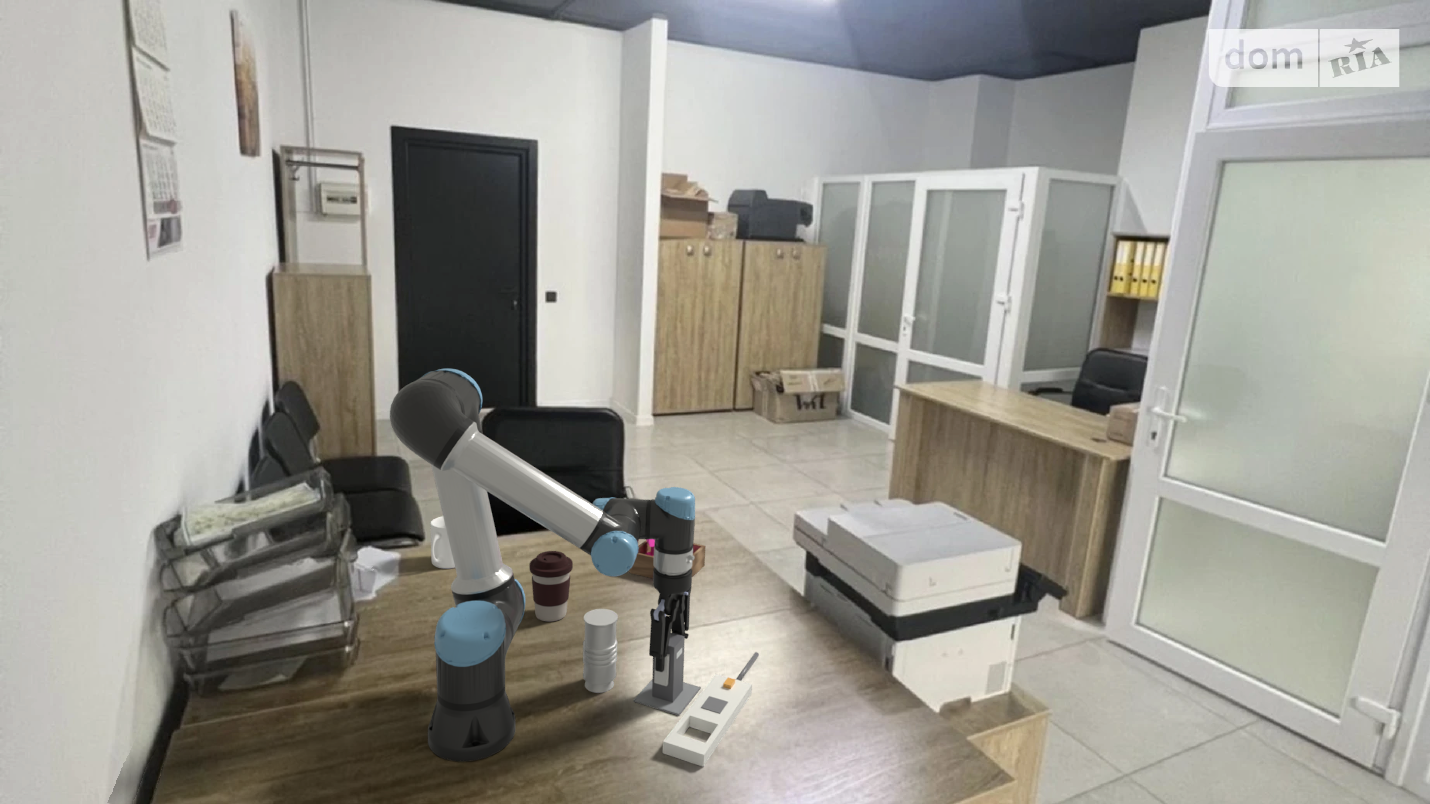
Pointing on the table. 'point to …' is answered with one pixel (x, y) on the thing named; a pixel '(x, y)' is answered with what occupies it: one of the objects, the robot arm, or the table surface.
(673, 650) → the block
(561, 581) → the coffee cup
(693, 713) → the power strip
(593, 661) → the grey ribbed canister
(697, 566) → the display box
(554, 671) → the table surface
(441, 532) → the mug
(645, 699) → the mat
